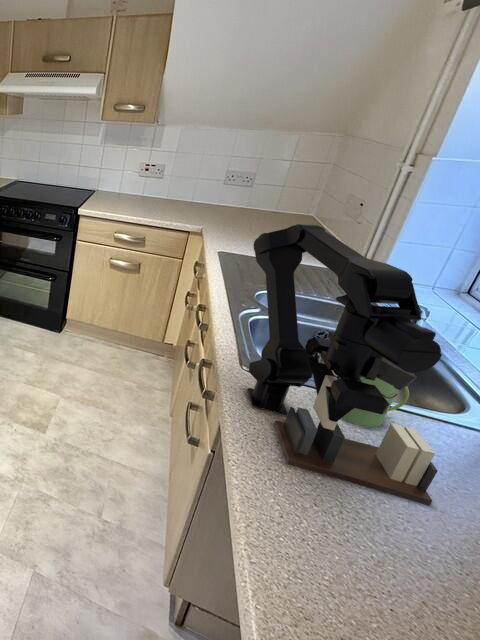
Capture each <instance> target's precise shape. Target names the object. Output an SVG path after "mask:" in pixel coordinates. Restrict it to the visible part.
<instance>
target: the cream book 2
mask: <svg viewBox="0 0 480 640" xmlns="http://www.w3.org/2000/svg"><path fill="white" fill-rule="evenodd" d="M404 428H405V427H404V426H403V425H400V424H397V423H394V422H393V423H392V422H390V424H389V426H388V428H387V430H386V432H385V434H384V436H383V437H382V440H381V442H380V444H379V446H378V447H379V448H378V450H377V452H376V456H377V458H378V459H379V461H380V462H381V464H382V466H383V467H384V469H385V471H386V472H387V474H388V476H389V477H390V479H393V480H397V481H400V482H402V481H403V479H404V477H405V475H406V473H407V471H408V470H409V468H410V466H411V464H412V462H413V460H414V459H415V457H416V455H417V453H418V451H419V448H418V447H417V445H416V444H415V443H414V441H413V440H412V439H411V437H410V436H409V435H408V433H407V432H406V431H405V429H404Z"/></svg>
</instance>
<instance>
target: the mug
mask: <svg viewBox="0 0 480 640" xmlns="http://www.w3.org/2000/svg"><path fill="white" fill-rule="evenodd" d="M339 379H340V378H339ZM360 379H361V381H362V382H363V383H367V384H371V385H375V386H376V387H377V388H378V390H379V391H380V392H381V393H382V395H383V396H384V397H385V399H386V400H387V401H388V403H389V406H388V408H387V411H386V413H385V414H377V413H373V412H369V411H365V410H361V409H357V408H354V409H353V410H351V411H350V412H349V413H347V414H346V415H345V416H344V417H342V418H341V420H344V421H346V422H349V423H352V424H354V425H357V426H362V427H365V428H378V427H380V426H381V425H382V424H383V422H384V421H385V418H386V416H387V414H388V412H391V411H395V410H398V409H400V408H401V407H403V406H405V404H407V402H408V400H409V397H410V390H409V387H408V385H407V386H406V387H405V388H404V389H403V390H404V395H403V398H402V399H401V401H400V402H399V403H397V404H395V405H392V403H393V401H394V400H395V398H396V397H397V396H398V392H399V390H398V389H396V388H394V386H392V385H390V384H388V383H386V382H384V381H382V380H380V379H379V378H377V377H376V379H375V381H373V380H368V379H365V378H364V377H361V378H360Z"/></svg>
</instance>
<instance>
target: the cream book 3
mask: <svg viewBox="0 0 480 640" xmlns="http://www.w3.org/2000/svg"><path fill="white" fill-rule="evenodd" d="M403 428H404V429H405V431H406V432H407V433H408V435H409V436H410V437H411V439H412V440H413V441H414V443H415V444H416V445H417V447H418V448H419V451H418V453H417V455H416V457H415V459H414V460H413V462H412V464H411V466H410V468H409V470H408V471H407V473H406V475H405V477H404V479H403V480H404V482H405V483H407V484H411V485H414V486H417V485H418V483H419V482H420V480H421V478H422V476H423V474H424V473H425V471H426V469H427V467H428V466H429V464H430V462H432V460H433V459H434V456H435V455H436V452H435V451H434V450H433V448H432V447H431V446H430V445H429V443H428V442H427V441H426V439H425V438H424V437H423V436H422V435H421V433H420V432H419V431H418V429H416V428H413V427H410V426H409V427H408V426H404V427H403Z"/></svg>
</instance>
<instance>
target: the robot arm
mask: <svg viewBox="0 0 480 640" xmlns="http://www.w3.org/2000/svg"><path fill="white" fill-rule="evenodd" d="M253 251H254V256H255V261H256V263H257V265H259V267H260V268H261V270H262V271H263V272H264V273H265V284H266V285H265V286H266V300H267V302H266V303H267V316H268V317H267V318H268V332H269V340H267V342H266V344H265V345H264V347H263V348H262V350H261V353H260V359H258V360H254V361H251V362H249V364H248V373H249V374H250V375H251V376H252V377H253V378H254V379H255V380H256V381H255V384H254V387H253V388H251V387H248V388H247V393H248V397H249V400H250V403H251V406H252V407H254V408H258V409H262V410H266V411H269V412H273V413H277V414H281V415H284V416H287V414H288V410H287V407H286V405H285V400H286V398H287V395H288V392H289V390H290V387H297V388H302V387H303V386H304V385H305V384H306V383H307V382H309V380H311V379H312V378H313V381H314V387H315V393H316V397H317V396H318V393H319V391H320V388H321V386H322V383H323V381H324V378H325V376H326V375H329V376H333V377H336V378H337V380H334V381H333V382H332V385H331V387H329V386H326V397H327V409H328V417H329V420H330V421H334V422H337V421H338V422H339V421H340V420H342V417H344V416H345V415H346V414H347V413H349V412H350V411H351V410H353V409H354V408H357V409H361V410H365V411H369V412H373V413H377V414H385V413H386V411H387V408H388V406H389V403H388V401H387V400H386V399H385V397H384V396H383V395H382V393H381V392H380V391H379V390H378V388H377V387H376V386H375V385H371V384H367V383H363V382H362V381H361V379H360V378H361V377H364V378H365V379H368V380H373V381H375V379H376V377H377V378H379V379H380V380H382V381H384V382H386V383H388V384H390V385H392V386H394V388H396V389H398V391H403V390H404V388H405V387H406V386H407V387H408V386H409V385H410V384H411V383H412V382H414V381H415V380H416V379H417V378H418V376H417V375H415V374H417V373H423V372H426V371H428V370H430V369H431V368H433V367H435V366H436V365H437V364H438V362H439V361H441V360H440V359H441V358H442V356H443V354H442V349H441V346H440V344H439V343H438V342H437V341H436V340H435V338H436V335H437V332H435V331H433V330H431V329H429V328H427V327H423V326H421V325H419V324H418V323H415V322H414V321H418V322H419V321H421V320H422V315H421V312H420V311H421V307H420V306H419V303H418V299H417V294H416V291H415V287H414V283H413V279H414V278H412V276H411V274H410V273H408V272H407V271H406V270H404V269H401V268H398V267H396V266H394V265H391V264H389V263H386V262H382V261H378V260H374V259H370V258H367V257H366V256H364V255H362V254H361V253H359V252H358V251H356V250H354V249H353V248H352V247H350V246H349V245H347V244H346V243H345V242H342V241H341V240H339V239H338V238H336V237H335V236H334V235H332V234H330V233H329V232H327V231H326V229H325V228H324V227H323V226H320V225H318V224H304V223H301V224H300V223H297V224H294V225H291V226H289V227H287V228H283V229H279V230H274V231H269V232H263V233H261V234H260V235H259V236H258V237H256V238H255V239H254V241H253ZM304 253H307V254H308V255H310V256H312V257H313V258H314V259H315V260H317V261H318V262H319V263H320V264H322V265H323V266H325V267H326V268H327V269H328V270H330V271H331V272H332V273H334V274H335V276H336V277H337V284H338V286H339V287H340V288H341V290H342V291H343V292H344V293H345V294H344V295H339V296H336V297H335V301H336V302H338V303H340V305H343V306H344V307H343V310H342V312H341V315H340V317H339V320H338V322H337V325H336V328H335V330H334V331H328V334H327V338H322V337H317V336H314V337H312V338H309V339H307V341H306V344H305V346H304V344H303V343H301V341H300V339H299V338H300V337H299V325H298V312H297V298H296V297H297V295H296V283H295V272H296V270H297V269H298V268H299V266H300V265H301V263H302V261H303V254H304ZM376 304H389V305H398V306H388V305H387V306H385V305H376ZM339 378H340V379H339ZM338 422H337V423H338Z"/></svg>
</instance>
